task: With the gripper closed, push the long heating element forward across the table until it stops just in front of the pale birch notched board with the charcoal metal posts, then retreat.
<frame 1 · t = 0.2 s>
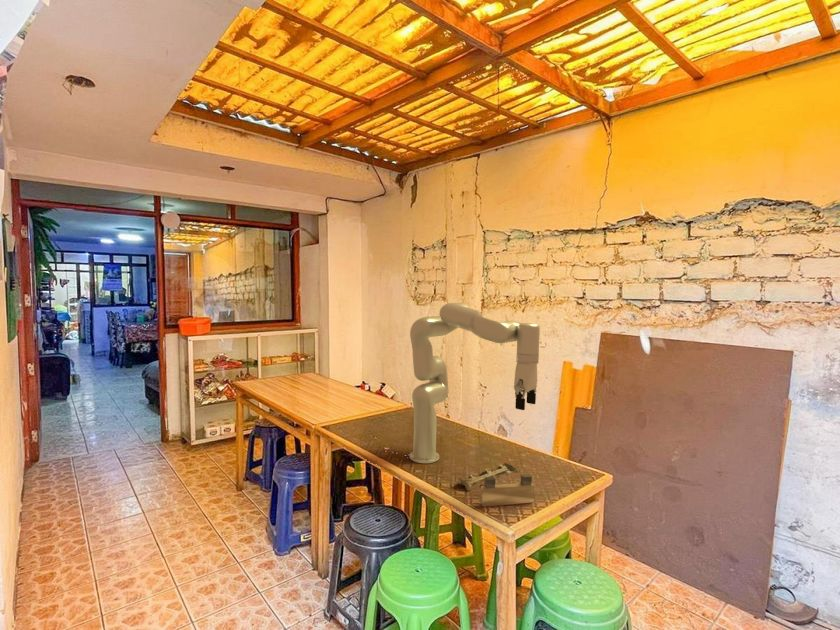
hand: (525, 406, 149), 31 cm above the table, tool pointing down, fingers open, 9 cm apart
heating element: (487, 480, 160), on the table
notched board: (507, 502, 142), on the table
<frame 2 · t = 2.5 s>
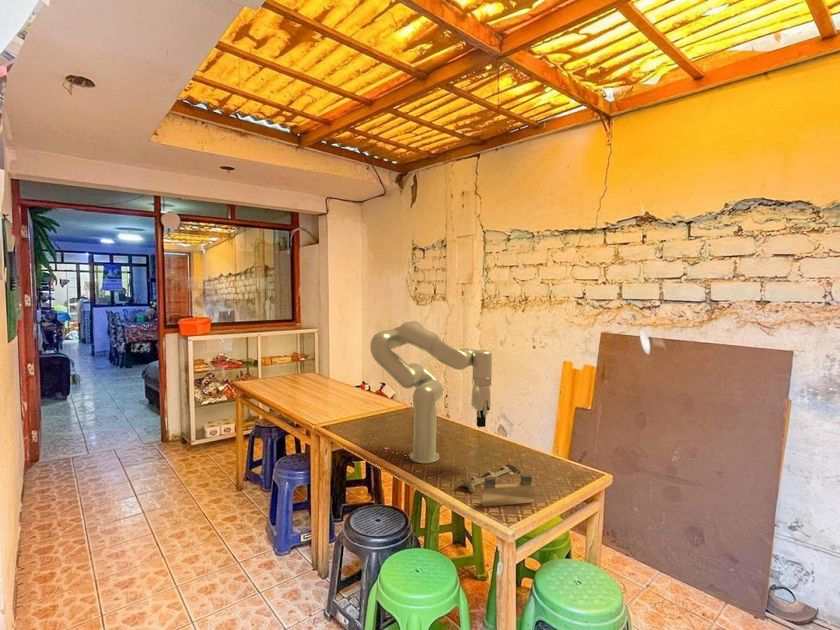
hand: (481, 426, 169), 17 cm above the table, tool pointing down, fingers closed
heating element: (490, 481, 159), on the table
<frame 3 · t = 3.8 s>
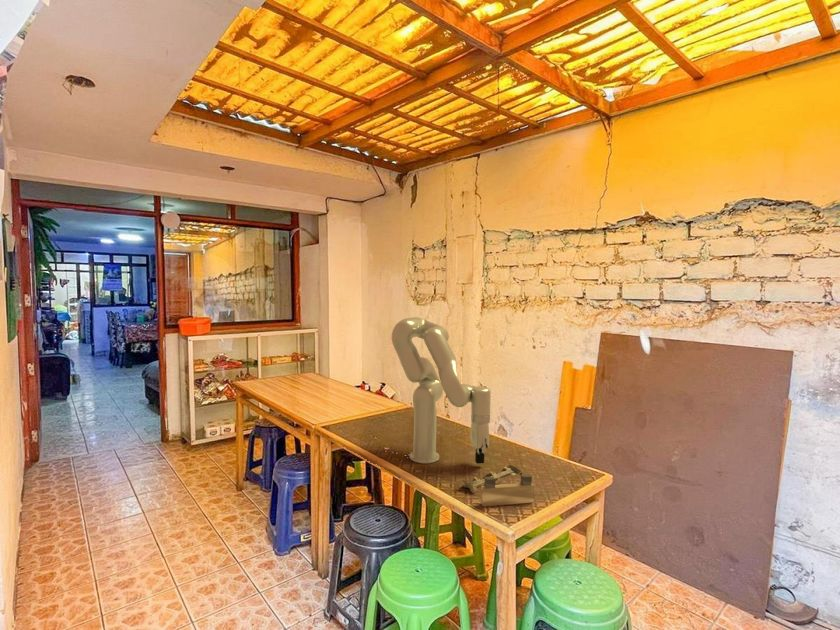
hand: (479, 462, 170), 2 cm above the table, tool pointing down, fingers closed
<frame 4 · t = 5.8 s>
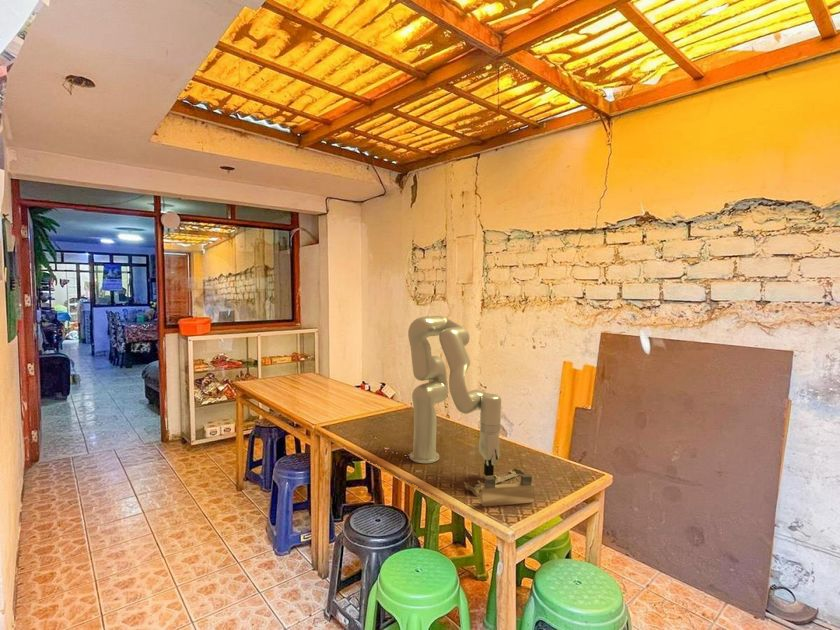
hand: (488, 474, 159), 2 cm above the table, tool pointing down, fingers closed
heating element: (496, 486, 156), on the table
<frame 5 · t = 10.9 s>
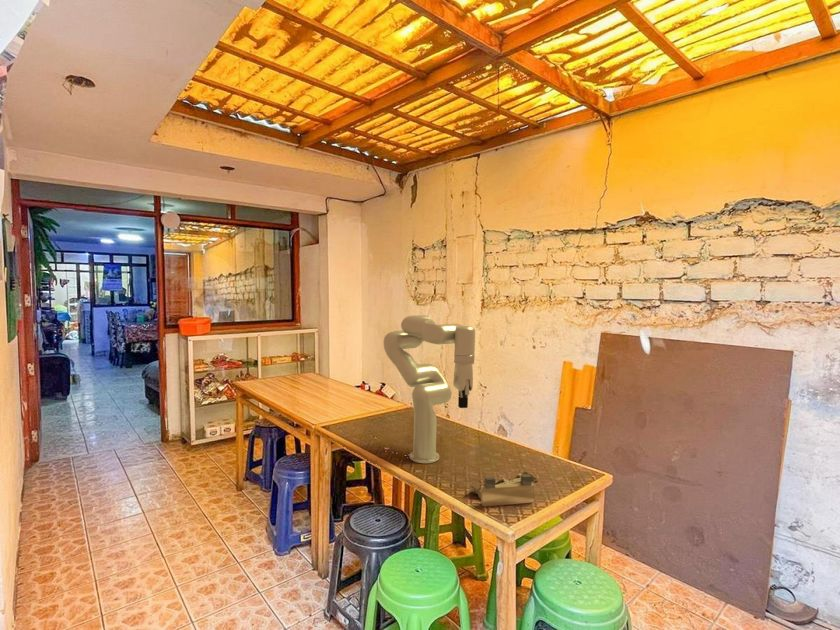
hand: (462, 407, 159), 27 cm above the table, tool pointing down, fingers closed
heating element: (504, 489, 153), on the table
at the end: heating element moved 9.0 cm from its start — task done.
